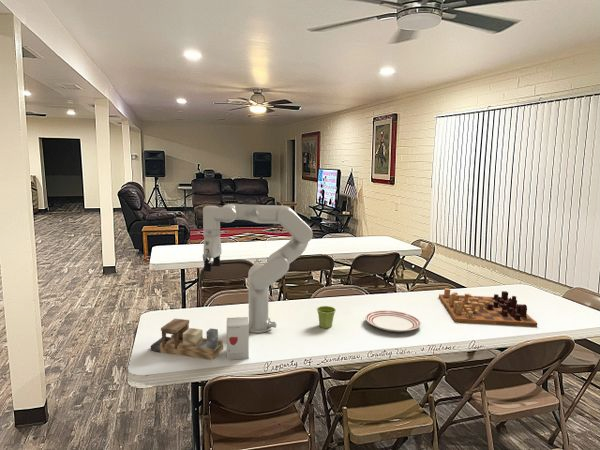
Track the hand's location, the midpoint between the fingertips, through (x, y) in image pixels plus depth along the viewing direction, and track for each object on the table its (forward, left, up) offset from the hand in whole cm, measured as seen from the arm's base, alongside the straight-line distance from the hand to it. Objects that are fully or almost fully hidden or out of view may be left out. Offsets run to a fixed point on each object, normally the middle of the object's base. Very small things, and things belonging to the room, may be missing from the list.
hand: (212, 268), depth 199 cm
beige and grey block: (-5, +23, -27) cm, 36 cm away
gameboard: (-131, -66, -31) cm, 150 cm away
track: (+1, +23, -30) cm, 38 cm away
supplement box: (-21, +21, -31) cm, 42 cm away
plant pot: (-51, -20, -31) cm, 63 cm away
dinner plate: (-83, -31, -31) cm, 94 cm away
